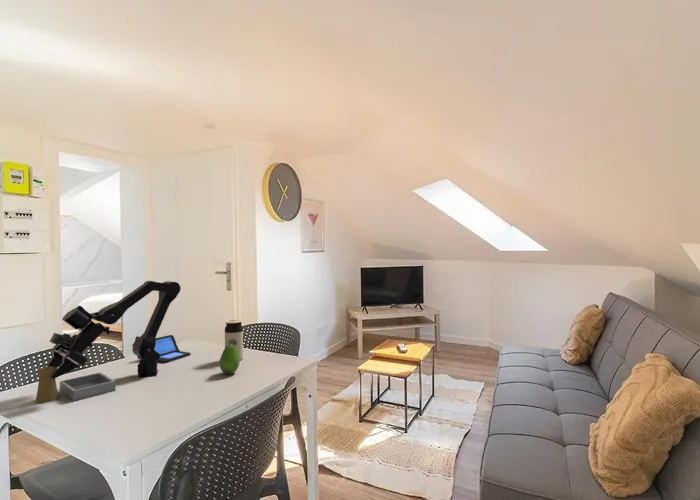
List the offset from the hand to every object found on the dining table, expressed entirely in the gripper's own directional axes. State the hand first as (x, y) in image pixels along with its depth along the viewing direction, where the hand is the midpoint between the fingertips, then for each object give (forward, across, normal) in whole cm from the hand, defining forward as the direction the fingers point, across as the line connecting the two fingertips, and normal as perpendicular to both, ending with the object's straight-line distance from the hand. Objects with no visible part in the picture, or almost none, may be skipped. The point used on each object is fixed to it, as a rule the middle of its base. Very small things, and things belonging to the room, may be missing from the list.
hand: (48, 375), depth 128 cm
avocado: (-33, +25, +44) cm, 60 cm away
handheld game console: (-29, -18, +41) cm, 54 cm away
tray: (-2, +1, +14) cm, 14 cm away
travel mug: (-42, +9, +53) cm, 68 cm away
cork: (+6, 0, +6) cm, 8 cm away
